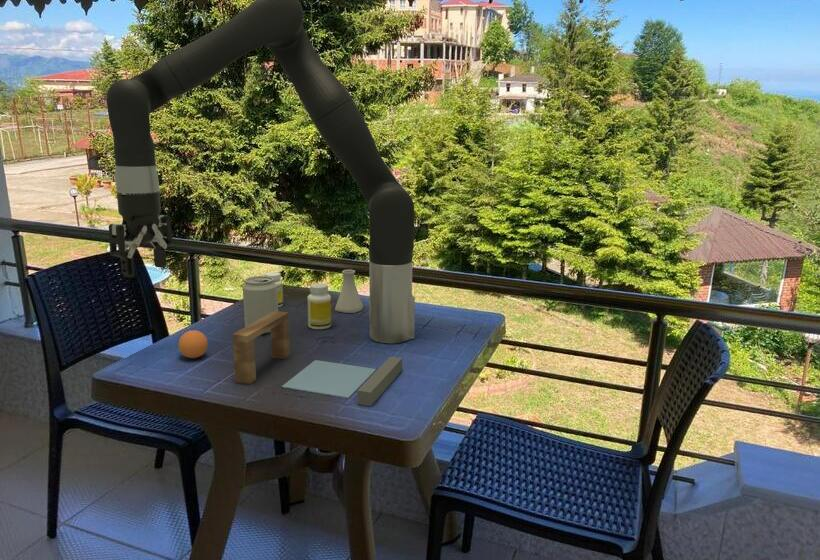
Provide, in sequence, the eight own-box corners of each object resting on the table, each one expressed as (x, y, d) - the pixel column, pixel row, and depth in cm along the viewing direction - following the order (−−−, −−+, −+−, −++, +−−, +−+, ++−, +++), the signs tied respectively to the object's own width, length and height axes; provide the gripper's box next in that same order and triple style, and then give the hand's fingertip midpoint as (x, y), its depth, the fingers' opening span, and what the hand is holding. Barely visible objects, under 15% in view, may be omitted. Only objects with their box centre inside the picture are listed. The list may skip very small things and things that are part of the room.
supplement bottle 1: (261, 304, 156) (259, 273, 154) (278, 301, 159) (276, 270, 157) (269, 309, 152) (267, 276, 150) (286, 306, 155) (285, 274, 153)
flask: (329, 311, 151) (328, 272, 148) (342, 303, 158) (342, 266, 155) (355, 315, 149) (355, 275, 146) (368, 307, 155) (367, 269, 153)
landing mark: (281, 387, 108) (281, 386, 108) (315, 360, 120) (315, 360, 120) (348, 398, 104) (348, 397, 104) (376, 370, 116) (376, 369, 116)
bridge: (235, 381, 110) (232, 334, 108) (276, 353, 124) (274, 310, 121) (250, 384, 109) (247, 336, 107) (290, 355, 123) (288, 312, 120)
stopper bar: (357, 404, 102) (357, 390, 102) (390, 368, 117) (390, 356, 116) (370, 406, 102) (370, 392, 101) (402, 370, 116) (402, 358, 116)
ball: (209, 350, 125) (207, 325, 123) (208, 360, 120) (206, 334, 118) (180, 353, 123) (178, 327, 122) (178, 363, 118) (176, 337, 117)
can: (270, 336, 133) (268, 283, 130) (239, 333, 135) (235, 281, 132) (284, 325, 141) (282, 275, 137) (254, 323, 142) (251, 273, 139)
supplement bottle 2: (335, 327, 140) (335, 286, 137) (314, 331, 137) (313, 289, 134) (325, 320, 144) (324, 281, 142) (304, 324, 141) (302, 284, 139)
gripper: (148, 185, 124) (155, 262, 128) (92, 192, 110) (101, 278, 115) (179, 187, 121) (184, 266, 125) (125, 194, 108) (134, 282, 112)
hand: (145, 271), depth 120 cm, fingers open, 8 cm apart
